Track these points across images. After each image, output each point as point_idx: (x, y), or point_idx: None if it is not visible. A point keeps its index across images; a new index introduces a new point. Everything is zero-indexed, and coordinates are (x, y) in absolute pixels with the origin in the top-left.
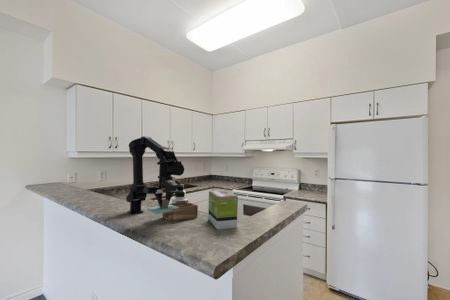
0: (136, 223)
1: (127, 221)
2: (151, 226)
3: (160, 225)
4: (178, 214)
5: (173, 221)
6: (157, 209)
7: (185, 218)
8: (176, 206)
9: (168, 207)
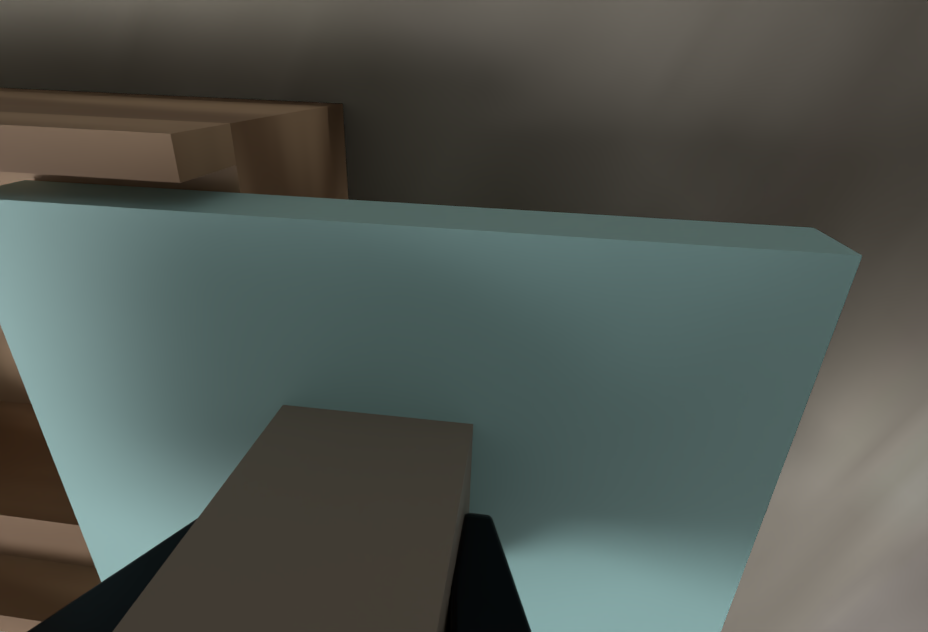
0: (830, 476)
1: (842, 613)
2: (788, 180)
3: (630, 116)
4: (141, 107)
5: (334, 105)
6: (638, 444)
7: (53, 93)
8: (16, 516)
9: (256, 428)
